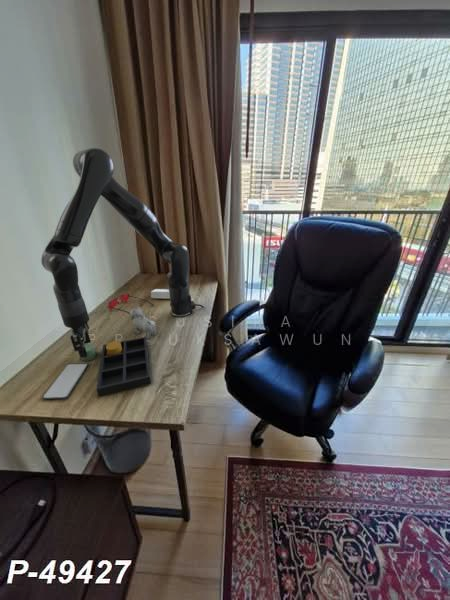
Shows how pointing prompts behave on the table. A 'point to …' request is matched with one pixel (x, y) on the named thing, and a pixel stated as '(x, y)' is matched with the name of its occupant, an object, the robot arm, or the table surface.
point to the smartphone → (65, 381)
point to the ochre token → (114, 348)
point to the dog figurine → (142, 322)
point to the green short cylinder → (89, 352)
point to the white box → (160, 293)
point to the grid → (124, 367)
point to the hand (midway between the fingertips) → (85, 349)
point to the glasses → (122, 298)
